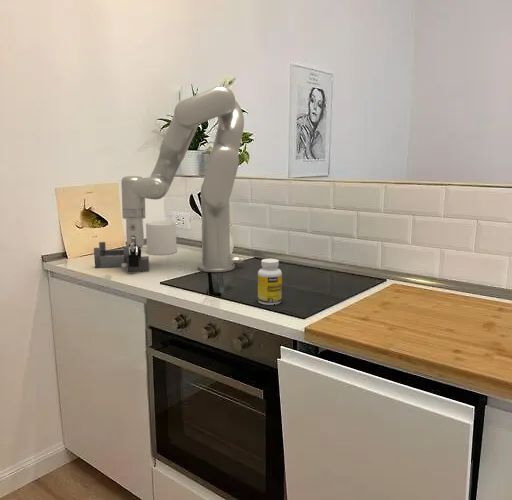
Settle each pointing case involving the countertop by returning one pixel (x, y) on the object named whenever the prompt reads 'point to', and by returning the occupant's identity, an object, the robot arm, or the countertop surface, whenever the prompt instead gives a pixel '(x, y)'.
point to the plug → (141, 268)
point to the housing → (110, 256)
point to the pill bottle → (269, 282)
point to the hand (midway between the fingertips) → (135, 263)
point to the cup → (161, 237)
